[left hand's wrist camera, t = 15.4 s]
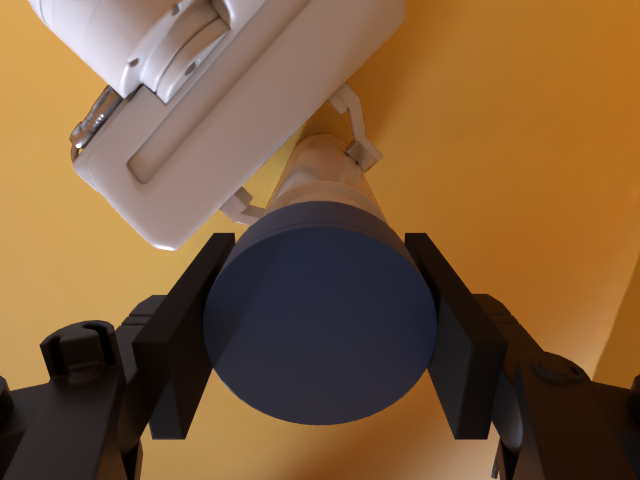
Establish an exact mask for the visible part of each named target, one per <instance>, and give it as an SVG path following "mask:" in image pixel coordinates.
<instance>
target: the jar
mask: <svg viewBox="0 0 640 480" xmlns="http://www.w3.org/2000/svg"><path fill="white" fill-rule="evenodd" d="M347 145H348V144H347V143H346V142H344V141H343V140H342V139H340V138H338V137H336V136H334V135H330V134H315V135H312V136H309V137H307V138H305V139H303V140H302V141H301V142H300V143H299V144H298V145H297V146H296V147H295V148H294V150H293V151H292V153H291V155H290V157H289V160H288V162H287V164H286V166H285V168H284V170H283V172H282V174H281V177H280V179H279V181H278V183H277V185H276V187H275V189H274V191H273V194H272V196H271V198H270V200H269V202H268V204H267V206H266V208H265V211H264V213H263V215H262V217H264V216H266V215H267V214H269V213H271V212H273V211H275V210H277V209H280V208H282V207H285V206H288V205H292V204H295V203H301V202H307V201H332V202H340V203H344V204H348V205H352V206H355V207H358V208H360V209H363V210H365V211H367V212H369V213H371V214H373V215H375V216H376V217H378V218H379V219H380V220H382V221H383V222H385V223H386V224H387V225H388V223H387V221H386V218H385V216H384V214H383V212H382V210H381V208H380V206H379V204H378V202H377V200H376V198H375V196H374V194H373V192H372V190H371V188H370V186H369V183H368V181H367V179H366V177H365V175H364V173H363V171H362V169H361V168H360V167H359V165H358V163H357V161H354V160H353V159H352V158H351V157H350V156H349V155H348V154H347V153H346V150H345V147H346V146H347ZM262 217H261V218H262Z"/></svg>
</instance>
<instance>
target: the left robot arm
mask: <svg viewBox="0 0 640 480" xmlns="http://www.w3.org/2000/svg"><path fill="white" fill-rule="evenodd" d="M404 244H405V246H406V248H407V250H408V251H409V253H410V255H411V257H412V259H413V260H414V262H415V264H416V266H417V267H418V269H419V271H420V273H421V275H422V276H423V278H424V280H425V282H426V283H427V285H428V287H429V289H430V292H431V294H432V297H433V299H434V302H435V307H436V312H437V322H438V328H437V336H436V343H435V348H434V352H433V355H432V357H431V360H430V362H429V364H428V366H427V369H428V372H429V374H430V377H431V379H432V382H433V385H434V387H435V390H436V392H437V395H438V397H439V400H440V403H441V405H442V408H443V410H444V413H445V415H446V418H447V421H448V423H449V426H450V428H451V431H452V433H453V436H454V438H455V439H487V438H488V434H489V429H490V425H491V420H492V422H493V424H494V426H495V428H496V430H497V432H498V434H499V435H500V440H499V444H498V448H497V452H496V457H495V461H494V465H493V470H492V476H491V477H492V478H495V479H497V475H498V471H499V474H500V480H640V374H639V375H638V376H636V377H635V379H634V381H633V384H632V386H631V389H625V388H620V387H616V386H611V385H606V384H602V383H597V382H593V381H591V380H590V378H589V377H588V375H587V374H586V373H585V371H584V370H583V369H582V368H580V367H579V366H578V365H576V364H575V363H574V362H572V361H570V360H568V359H566V358H564V357H562V356H560V355H556V354H552V353H549V352H544V351H543V350H542V349H541V348H540V346H539V345H538V344H537V343H536V342H535V341H534V339H533V338H532V337H531V336H530V335H529V334H528V333H527V331H526V330H525V329H524V328H523V327H522V326H521V324H519V323H518V321H517V320H516V319H515V318H514V316H513V315H511V313H510V312H509V311H508V309H507V308H506V307H505V306H504V305H503V304H502V303H501V302H500V301H498V300H496V299H495V298H493V297H491V296H490V295H488V294H471V292H470V291H469V290H468V288H467V287H466V286H465V284H464V283H463V282H462V280H461V279H460V278H459V276H458V275H457V274H456V272H455V271H454V270H453V268H452V267H451V266H450V264H449V263H448V262H447V260H446V259H445V258H444V257H443V255H442V254H441V253H440V251H439V250H438V249H437V247H436V246H435V245H434V243H433V242H432V241H431V239H430V238H429V237H428V235H427V234H426V233H405V242H404ZM234 246H235V233H214V234H213V235H212V236H211V238H210V239H209V240H208V242H207V243H206V244H205V246H204V247H203V248H202V250H201V251H200V252H199V254H198V255H197V256H196V257H195V259H194V260H193V261H192V263H191V264H190V265H189V267H188V268H187V269H186V271H185V272H184V273H183V275H182V276H181V277H180V279H179V280H178V281H177V283H176V284H175V285H174V287H173V288H172V289H171V291H170V292H169V293H168V295H152V296H151V297H149V298H147V299H146V300H144V301H142V302H141V303H139V304H138V305H137V306H136V307H135V308H134V310H133V311H132V312H131V313H130V314H129V317H127V318H126V319H125V320H124V321H123V322H122V325H121V326H119V327H118V328H117V329H116V330H114V326H113V325H111V324H110V323H109V322H106V321H100V320H92V321H83V322H79V323H75V324H71V325H69V326H66V327H64V328H61V329H59V330H57V331H56V332H54V333H52V334H51V335H49V336H48V337H46V338H45V340H44V341H43V342H42V343H41V344H40V348H41V351H42V354H43V357H44V360H45V363H46V366H47V369H48V372H49V375H50V378H51V379H50V381H49V383H46V384H42V385H37V386H32V387H27V388H23V389H18V390H13V391H10V390H9V387H8V385H7V382H6V380H5V379H4V378H3V377H1V376H0V480H140V475H141V467H142V458H143V450H142V444H141V440H140V437H141V435H142V433H143V431H144V429H145V427H146V425H147V424H148V422H149V426H150V430H151V435H152V439H153V440H164V439H185V438H186V435H187V433H188V430H189V428H190V425H191V422H192V420H193V417H194V415H195V412H196V410H197V407H198V404H199V402H200V399H201V397H202V394H203V392H204V389H205V386H206V384H207V381H208V379H209V376H210V374H211V371H212V368H213V366H212V364H211V362H210V360H209V358H208V355H207V352H206V349H205V345H204V338H203V328H202V319H203V312H204V306H205V303H206V300H207V297H208V294H209V292H210V290H211V288H212V286H213V284H214V281H215V280H216V278H217V276H218V274H219V272H220V271H221V269H222V267H223V265H224V264H225V262H226V260H227V258H228V256H229V255H230V253H231V251H232V249H233V247H234Z"/></svg>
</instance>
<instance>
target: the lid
mask: <svg viewBox="0 0 640 480" xmlns="http://www.w3.org/2000/svg"><path fill="white" fill-rule="evenodd" d="M202 328H203V338H204V345H205V349H206V352H207V355H208V358H209V360H210V362H211V364H212V366H213V368H214V370H215V372H216V373H217V375H218V376H219V378H220V379H221V380H222V382H223V383H224V384H225V385H226V386H227V387H228V388H229V390H230V391H232V392H233V393H234V394H235V395H236V396H237V397H238V398H240V399H241V400H242V401H244V402H245V403H247V404H248V405H250V406H251V407H253V408H255V409H257V410H258V411H260V412H262V413H264V414H267V415H269V416H272V417H274V418H277V419H281V420H284V421H288V422H293V423H298V424H306V425H334V424H342V423H347V422H352V421H356V420H359V419H362V418H365V417H368V416H371V415H373V414H375V413H377V412H380V411H382V410H384V409H385V408H387V407H389V406H390V405H392V404H394V403H395V402H396V401H398V400H399V399H400V398H401V397H403V396H404V395H405V394H406V393H407V392H408V391H409V390H410V389H411V388H412V387H413V386H414V385H415V384H416V383H417V381H418V380H419V379H420V378H421V376H422V375H423V373H424V371H425V370H426V368H427V366H428V364H429V362H430V360H431V357H432V355H433V352H434V348H435V343H436V336H437V328H438V322H437V312H436V307H435V302H434V299H433V297H432V294H431V292H430V289H429V287H428V285H427V283H426V282H425V280H424V278H423V276H422V275H421V273H420V271H419V269H418V267H417V266H416V264H415V262H414V260H413V259H412V257H411V255H410V253H409V251H408V250H407V248H406V246H405V244H404V243H403V241H402V240H401V239H400V238H399V236H398V235H397V234H396V232H394V231H393V230H392V229H391V228H390V227H389V226H388V225H387V224H386V223H385V222H383V221H382V220H380V219H379V218H378V217H376V216H375V215H373V214H371V213H369V212H367V211H365V210H363V209H360V208H358V207H355V206H352V205H348V204H344V203H340V202H332V201H307V202H301V203H295V204H292V205H288V206H285V207H282V208H280V209H277V210H275V211H273V212H271V213H269V214H267V215H266V216H264V217H262V218H261V219H259V220H258V221H257V222H255V223H254V224H253V225H252V226H251V227H249V228H248V229H247V231H246V232H245V233H244V234H243V235H242V236H241V237H240V239H239V240H238V241H237V243H236V244H235V246H234V247H233V249H232V251H231V253H230V255H229V256H228V258H227V260H226V262H225V264H224V265H223V267H222V269H221V271H220V272H219V274H218V276H217V278H216V280H215V281H214V284H213V286H212V288H211V290H210V292H209V294H208V297H207V300H206V303H205V306H204V312H203V319H202Z"/></svg>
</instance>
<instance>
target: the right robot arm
mask: <svg viewBox="0 0 640 480" xmlns="http://www.w3.org/2000/svg"><path fill="white" fill-rule="evenodd" d="M28 2H29V3H30V5H31V7H32V8H33V10H34V11H35V12H36V14H37V15H38V17H39V18H40V19H41V20H42V22H43V23H44V24H45V25H46V26H47V27H48V28H49V29H50V30H51V31H52V32H54V33H55V34H56V35H57V36H58V37H59V38H60V39H61V40H62V41H63V42H64V43H65V44H66V45H67V46H68V47H70V48H71V49H72V50H73V51H74V52H75V53H76V54H77V55H78V56H79V57H80V58H81V59H82V60H83V61H84V62H86V63H87V64H88V65H89V66H90V67H91V68H92V69H93V70H94V71H95V72H96V73H97V74H98V75H99V76H100V77H101V78H102V79H103V80H105V81H106V82H107V83H108V86H107V87H106V88H105V89H104V91H103V92H102V93H101V95H100V96H99V97H98V99H97V100H96V101H95V103H94V104H93V106H92V108H91V110H90V112H89V113H88V115H87V116H86V117H85V119H84V120H83V121H81V122H80V123H79V124H77V126H76V127H75V128H74V130H73V131H72V133H71V135H70V141H71V143H72V148H71V159H72V162H73V168H74V170H75V171H76V173H77V174H78V175H79V176H80V177H81V178H82V179H83V180H85V181H86V182H87V183H88V184H89V185H91V186H92V187H93V188H94V189H95V190H97V191H98V192H100V193H101V194H102V195H103V196H104V197H105V198H106V199H107V201H108V202H109V203H110V204H111V205H112V206H113V207H114V208H115V210H116V211H117V212H118V213H119V214H120V215H121V216H122V217H123V218H124V219H125V220H126V221H127V222H128V223H129V224H130V225H131V226H132V227H133V228H134V229H135V230H136V231H137V232H138V233H139V234H140V235H141V236H142V237H143V238H144V239H145V240H146V241H148V242H149V243H150V244H151V245H152V246H154V247H156V248H158V249H164V250H171V251H176V250H178V249H179V248H180V247H181V246H182V245H183V244H184V243H185V242H186V241H187V240H188V239H189V238H190V237H191V236H192V235H193V234H194V233H195V232H196V231H197V230H198V229H199V228H200V227H201V226H202V225H203V224H204V223H205V222H206V221H207V220H208V219H209V218H210V217H211V216H212V215H213V214H214V213H215V212H216V211H217V210H218V209H220V210H221V211H222V212H223V213H225V214H226V215H227V216H228V217H229V218H230V219H231V220H232V221H233V222H237V223H241V224H245V225H249V226H252V225H253V224H254V223H255V222H257V221H258V220H259V219H261V217H262V215H263V213H264V211H265V209H262V208H259V207H256V206H253V205H250V204H249V203H250V202H251V200H252V196H251V195H250V194H249V193H248V192H247V191H246V190H245V189H244V188H243V187H242V185H243V184H244V183H245V182H246V181H247V180H248V179H249V178H250V177H251V176H252V175H253V174H254V173H255V172H256V171H257V170H258V169H259V168H260V167H261V166H262V165H263V164H264V163H265V162H266V161H267V160H268V159H269V158H270V157H271V156H272V155H273V154H274V153H275V152H276V151H277V150H278V149H279V148H280V147H281V146H282V145H283V144H284V143H285V142H286V141H287V140H288V139H289V138H290V137H291V136H292V135H293V134H294V133H295V132H296V131H297V130H298V129H299V128H300V127H301V126H302V125H303V124H304V123H305V122H306V121H307V120H308V119H309V118H310V117H311V116H312V115H313V114H314V113H315V112H316V111H317V110H318V109H319V108H320V107H321V106H322V105H323V104H324V103H325V102H326V101H328V102H329V103H330V104H331V105H332V106H333V107H334V108H335V110H336V111H337V112H338V113H339V114H344V113H345V112H346V111H347V109H348V114H349V119H350V124H351V129H352V134H353V138H354V140H353V141H352V142H351V143H350V144H348V145H347V146H346V147H345V150H346V153H347V154H348V155H349V156H350V157H351V158H352V159H353V160H354V161H357V163H358V165H359V167H360V168H361V169H362V170H363V171H364V172H365V173H366V172H367V171H368V170H369V169H370V168H371V167H372V166H374V165H375V164H376V163H377V162H378V161H379V160H380V159H381V158H383V156H382V154H381V153H380V152H379V151H378V150H377V148H376V147H375V146H374V145H373V144H372V143H371V142H370V140H369V139H368V138H367V137H366V136H365V134H366V129H365V124H364V119H363V113H362V108H361V102H360V98H359V97H358V96H357V95H356V93H355V92H354V91H353V90H352V89H351V87H350V86H349V85H348V84H347V83H346V81H347V80H348V79H349V78H350V77H351V76H352V75H353V74H354V73H355V72H356V71H357V70H358V69H359V68H360V67H361V66H362V65H363V64H364V63H365V62H366V61H367V60H368V59H369V58H370V57H371V56H372V55H373V54H374V53H375V52H376V51H377V50H378V49H379V48H380V47H381V46H382V45H383V44H384V43H385V42H386V41H387V40H388V39H389V38H390V37H391V36H392V35H393V34H394V33H395V32H396V31H397V30H398V29H399V28H400V27H401V26H402V25H403V24H404V22H405V20H406V0H28ZM80 148H81V149H83V151H82V152H81V153H80V154H79V149H80ZM376 161H377V162H376Z"/></svg>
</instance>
